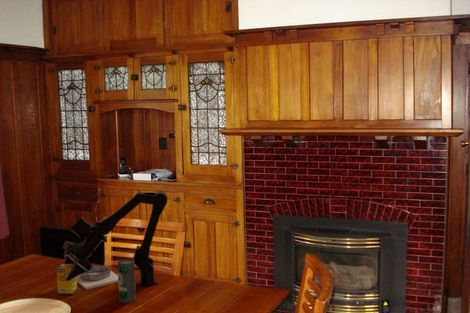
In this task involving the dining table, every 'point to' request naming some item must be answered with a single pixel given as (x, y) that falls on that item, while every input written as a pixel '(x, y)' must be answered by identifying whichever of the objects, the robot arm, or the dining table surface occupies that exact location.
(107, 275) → the metal duct collar
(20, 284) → the dining table surface
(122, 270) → the can
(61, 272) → the supplement box
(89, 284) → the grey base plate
